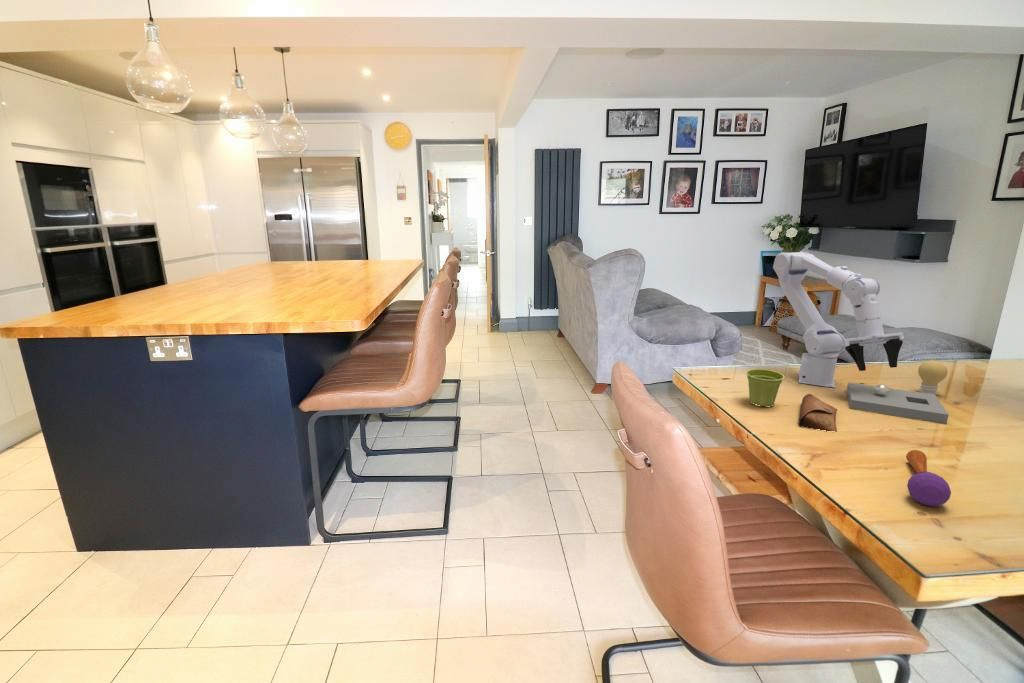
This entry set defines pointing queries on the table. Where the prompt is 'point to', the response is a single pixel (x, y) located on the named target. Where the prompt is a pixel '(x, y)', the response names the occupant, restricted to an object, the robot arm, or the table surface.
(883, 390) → the steel ball
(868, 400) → the hole deck
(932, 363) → the light bulb
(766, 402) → the plant pot
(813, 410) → the sunglasses case
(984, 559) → the table surface
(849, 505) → the table surface
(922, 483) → the purple maraca
